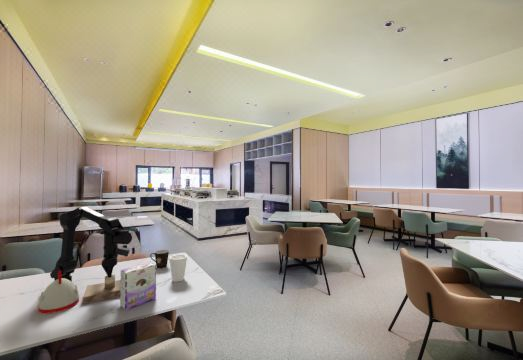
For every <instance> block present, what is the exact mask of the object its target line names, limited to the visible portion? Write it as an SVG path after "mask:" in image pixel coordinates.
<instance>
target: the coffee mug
mask: <svg viewBox="0 0 523 360" xmlns="http://www.w3.org/2000/svg"><path fill="white" fill-rule="evenodd" d="M169 252H170V251H169V249H160V250H159V249H158V250H155V251H154V252H152V253H150V254H149V257H150V259H151V260H152V261H153V262H155V265H156V269H159V270H160V269H165V268H167V267H168V262H169V261H168V260H169ZM152 255H154V258H155V259H154V258H153V256H152Z"/></svg>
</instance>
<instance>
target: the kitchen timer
mask: <svg viewBox="0 0 523 360" xmlns="http://www.w3.org/2000/svg"><path fill="white" fill-rule="evenodd" d="M39 297H40V298H39V300H38V301H39V303H38V307H37V308H38V309H37V310H38V313H41V314H46V315H47V314H54V313H58V312H62V311H65V310H69V309H71V308H73V307H75V305H77V304H78V303H79V302H80V294H79V289H78V286H77V284H74V283H73V281H72V282H71V281H70V280H68V279H64V278H61V271H59V273H58V279H57V280H55V281H54V280H53V281H52V282H51V283H49V285H48V286H47V287H46V288H45V290H44V291H42V292H41V293H40V296H39Z"/></svg>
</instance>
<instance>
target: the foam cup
mask: <svg viewBox="0 0 523 360" xmlns="http://www.w3.org/2000/svg"><path fill="white" fill-rule="evenodd" d="M168 260H169V261H168V262H169V264H170V274H171V281H172V282H175V283H178V282H179V281H180V282H182V281H184V280H185V273H186V268H187V267H186V266H187V260H188V257H187V254H174V255H171V256H168ZM183 279H184V280H183Z"/></svg>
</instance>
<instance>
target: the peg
mask: <svg viewBox="0 0 523 360" xmlns="http://www.w3.org/2000/svg"><path fill="white" fill-rule="evenodd" d="M115 281H116V275H115V274H112V276H111V277H110V278H108V276H107V275H105V276H104V283H105V288H106V289H109V288H114V287H115Z"/></svg>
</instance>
